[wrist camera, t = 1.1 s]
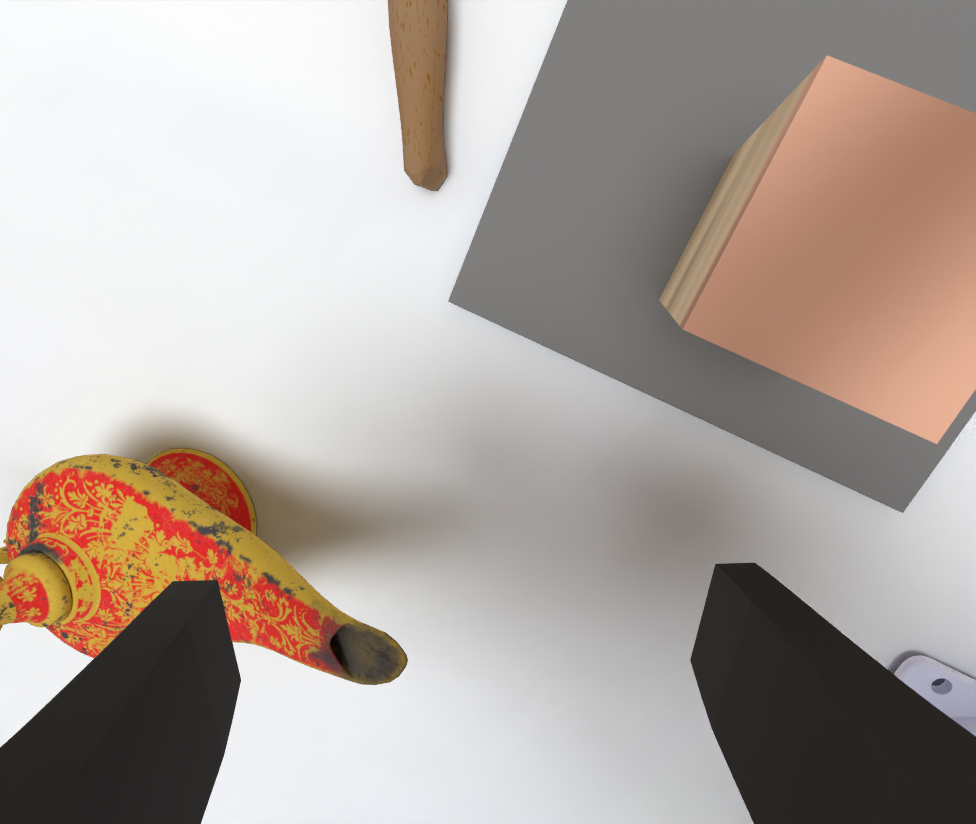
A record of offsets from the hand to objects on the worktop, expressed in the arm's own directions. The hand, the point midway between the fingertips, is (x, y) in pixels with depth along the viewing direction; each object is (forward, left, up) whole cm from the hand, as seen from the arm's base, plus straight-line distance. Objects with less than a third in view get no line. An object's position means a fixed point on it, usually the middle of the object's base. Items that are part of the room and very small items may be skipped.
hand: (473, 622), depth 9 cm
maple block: (-3, -7, -10) cm, 12 cm away
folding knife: (+9, -11, -11) cm, 18 cm away
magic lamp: (+9, +8, -11) cm, 16 cm away
